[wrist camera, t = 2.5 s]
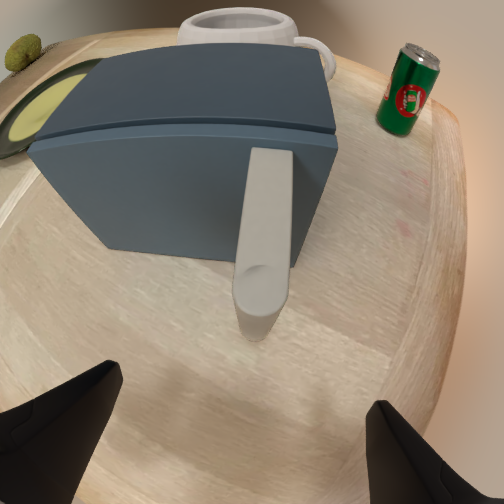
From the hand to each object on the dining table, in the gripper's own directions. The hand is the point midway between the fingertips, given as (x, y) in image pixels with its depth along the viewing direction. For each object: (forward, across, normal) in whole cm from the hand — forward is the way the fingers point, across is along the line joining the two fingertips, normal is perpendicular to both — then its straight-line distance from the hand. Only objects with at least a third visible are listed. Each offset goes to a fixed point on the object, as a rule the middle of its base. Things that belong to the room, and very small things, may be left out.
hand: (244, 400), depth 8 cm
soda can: (+29, -14, -14) cm, 35 cm away
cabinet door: (+11, +5, +3) cm, 13 cm away
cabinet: (+17, +6, -3) cm, 18 cm away
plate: (+30, +41, -15) cm, 53 cm away
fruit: (+59, +95, -44) cm, 120 cm away
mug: (+33, +5, -18) cm, 37 cm away
